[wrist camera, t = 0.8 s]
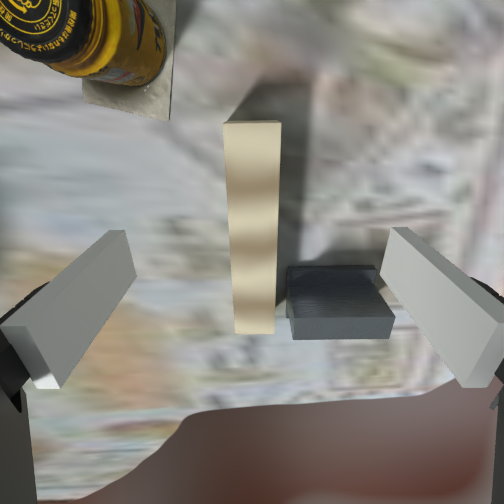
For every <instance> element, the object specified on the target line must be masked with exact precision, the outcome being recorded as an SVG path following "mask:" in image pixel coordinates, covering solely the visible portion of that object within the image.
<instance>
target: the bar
mask: <svg viewBox="0 0 504 504" xmlns="http://www.w3.org/2000/svg"><path fill="white" fill-rule="evenodd" d="M223 137H224V154H225V171H226V188H227V205H228V222H229V239H230V255H231V272H232V289H233V306H234V323H235V334H274V326H275V296H276V266H277V237H278V207H279V178H280V148H281V122H279V121H278V120H247V121H226V122H225V123H223Z"/></svg>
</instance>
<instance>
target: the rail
mask: <svg viewBox="0 0 504 504" xmlns="http://www.w3.org/2000/svg"><path fill="white" fill-rule="evenodd" d="M376 273H377V269H376V268H375V266H374V265H367V266H299V267H288V276H287V295H286V318H289V320H290V326H291V331H292V337H293V340H324V339H389V337H390V333H391V330H392V327H393V324H394V320H395V315H394V314H393V312H392V311H391V309H390V308H389V306H388V305H387V303H386V302H385V300H384V299H383V297H382V296H381V294H380V293H379V291H378V290H377V288H376V287H375V285H374V282H375V277H376Z"/></svg>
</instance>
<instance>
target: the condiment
mask: <svg viewBox="0 0 504 504" xmlns="http://www.w3.org/2000/svg"><path fill="white" fill-rule="evenodd" d="M175 20H176V0H0V42H1V43H3V44H4V45H5V46H7V47H8V48H9V49H11V51H13V52H15V53H17V54H19V55H21V56H22V57H24V58H27V59H31V60H33V61H38V62H41V63H43V64H45V65H47V66H48V67H50V68H51V69H53V70H55V71H57V72H60V73H62V74H65V75H68V76H71V77H76V78H82V90H83V102H86V103H90V104H95V105H99V106H104V107H108V108H112V109H117V110H121V111H125V112H130V113H135V114H138V115H143V116H146V117H151V118H155V119H159V120H163V121H168V122H169V107H170V90H171V77H172V65H173V49H174V35H175ZM148 85H149V88H147V86H148ZM145 89H146V90H147V91H146V92H144V90H145Z"/></svg>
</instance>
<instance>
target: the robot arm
mask: <svg viewBox="0 0 504 504" xmlns="http://www.w3.org/2000/svg"><path fill="white" fill-rule="evenodd" d="M380 276H381V277H382V279H383V280H384V281H385V283H386V284H387V285H388V287H389V288H390V289H391V291H392V292H393V293H394V295H395V296H396V298H397V299H398V300H399V302H400V303H401V304H402V306H403V307H404V308H405V310H406V311H407V312H408V314H409V315H410V317H411V318H412V319H413V321H414V322H415V323H416V325H417V326H418V327H419V329H420V330H421V332H422V333H423V334H424V336H425V337H426V338H427V340H428V341H429V342H430V344H431V345H432V346H433V348H434V349H435V351H436V352H437V353H438V355H439V356H440V357H441V359H442V360H443V361H444V363H445V364H446V366H447V367H448V368H449V370H450V371H451V372H452V374H453V375H454V376H455V378H456V379H457V380H458V382H459V383H460V385H461V386H462V387H463V388H487V386H488V385H489V383H490V382H491V380H492V378H493V377H494V375H496V376H497V377H498V378H499V380H500V381H501V382H502V383H503V384H504V297H502V296H499V294H498V293H497V292H496V291H494V290H493V289H492V288H491V287H489V286H488V285H486V284H484V283H482V282H480V281H478V280H476V279H474V278H472V277H469V276H467V275H466V274H465V273H464V272H462V271H461V270H460V269H459V268H457V267H456V266H455V265H454V264H453V263H451V262H450V261H449V260H448V259H446V258H445V257H444V256H443V255H441V254H440V253H439V252H438V251H436V250H435V249H434V248H433V247H431V246H430V245H429V244H428V243H426V242H425V241H424V240H423V239H421V238H420V237H419V236H418V235H416V234H415V233H414V232H413V231H411V230H410V229H409V228H408V227H391V231H390V235H389V239H388V243H387V247H386V251H385V255H384V259H383V263H382V267H381V271H380ZM136 277H137V275H136V271H135V268H134V264H133V260H132V256H131V252H130V248H129V244H128V241H127V237H126V233H125V230H109V231H108V232H107V233H106V234H105V235H103V236H102V237H101V238H100V239H99V240H98V241H96V242H95V243H94V244H93V245H92V246H91V247H90V248H88V249H87V250H86V251H85V252H84V253H83V254H81V255H80V256H79V257H78V258H77V259H76V260H75V261H73V262H72V263H71V264H70V265H69V266H68V267H67V268H65V269H64V270H63V271H62V272H61V273H60V274H58V275H57V276H56V277H55V278H54V279H53V280H52V281H50V282H47V283H45V284H44V285H42V286H40V287H38V288H36V289H35V290H33V291H32V292H31V293H30V294H29V295H27V296H26V297H25V298H24V300H21V301H20V302H19V303H18V304H17V305H16V306H15V308H12V309H11V310H10V311H8V312H7V313H6V314H5V315H4V316H2V317H1V318H0V504H37V494H36V485H35V475H34V466H33V456H32V447H31V437H30V428H29V419H28V409H27V400H26V393H25V392H24V390H23V388H22V386H23V385H24V384H25V382H26V381H27V380H28V379H29V377H30V378H31V379H32V381H33V382H34V384H35V386H36V387H37V389H60V388H61V387H62V386H63V384H64V383H65V381H66V380H67V378H68V377H69V375H70V374H71V372H72V371H73V369H74V368H75V366H76V365H77V364H78V362H79V361H80V359H81V358H82V356H83V355H84V353H85V352H86V350H87V349H88V347H89V346H90V344H91V343H92V342H93V340H94V339H95V337H96V336H97V334H98V333H99V331H100V330H101V328H102V327H103V325H104V324H105V322H106V321H107V320H108V318H109V317H110V315H111V314H112V312H113V311H114V309H115V308H116V306H117V305H118V303H119V302H120V300H121V299H122V298H123V296H124V295H125V293H126V292H127V290H128V289H129V287H130V286H131V284H132V283H133V281H134V280H135V278H136ZM496 406H498V417H497V432H496V445H495V459H494V473H493V488H492V489H493V490H492V502H491V504H504V385H503V387H502V388H501V390H500V392H499V393H498V395H497V396H496V397H495V399H494V401H493V402H492V404H491V406H490V408H491V409H493V410H494V409H495V407H496Z"/></svg>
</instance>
